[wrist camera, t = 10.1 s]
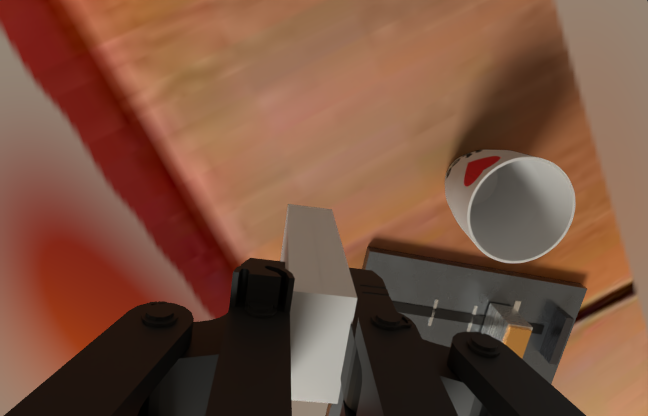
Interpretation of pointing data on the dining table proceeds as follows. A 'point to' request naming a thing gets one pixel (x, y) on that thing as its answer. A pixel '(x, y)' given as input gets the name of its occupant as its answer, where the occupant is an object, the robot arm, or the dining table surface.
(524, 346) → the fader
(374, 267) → the console
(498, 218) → the cup
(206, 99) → the dining table surface
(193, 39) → the dining table surface
